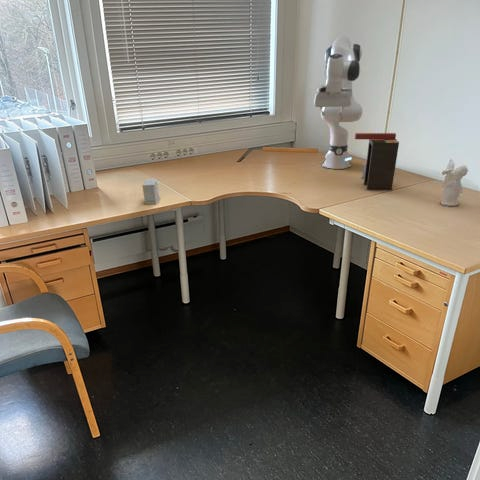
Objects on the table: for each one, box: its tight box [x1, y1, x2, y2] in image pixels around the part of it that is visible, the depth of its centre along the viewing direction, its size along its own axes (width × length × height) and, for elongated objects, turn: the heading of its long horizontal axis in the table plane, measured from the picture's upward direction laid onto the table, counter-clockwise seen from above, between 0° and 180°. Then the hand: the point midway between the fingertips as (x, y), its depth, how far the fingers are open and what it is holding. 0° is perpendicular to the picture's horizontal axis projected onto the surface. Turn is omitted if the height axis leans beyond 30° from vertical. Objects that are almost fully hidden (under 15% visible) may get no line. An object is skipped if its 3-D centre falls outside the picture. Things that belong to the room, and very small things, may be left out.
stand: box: [363, 138, 400, 191], centre depth 272 cm, size 12×14×26 cm
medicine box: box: [361, 163, 366, 180], centre depth 291 cm, size 8×4×9 cm, turn 47°
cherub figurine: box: [440, 158, 469, 207], centre depth 246 cm, size 12×12×22 cm
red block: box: [354, 132, 397, 140], centre depth 267 cm, size 3×22×3 cm, turn 86°
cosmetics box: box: [142, 179, 160, 205], centre depth 260 cm, size 10×6×10 cm, turn 178°
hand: (331, 115), depth 268 cm, fingers open, 8 cm apart
